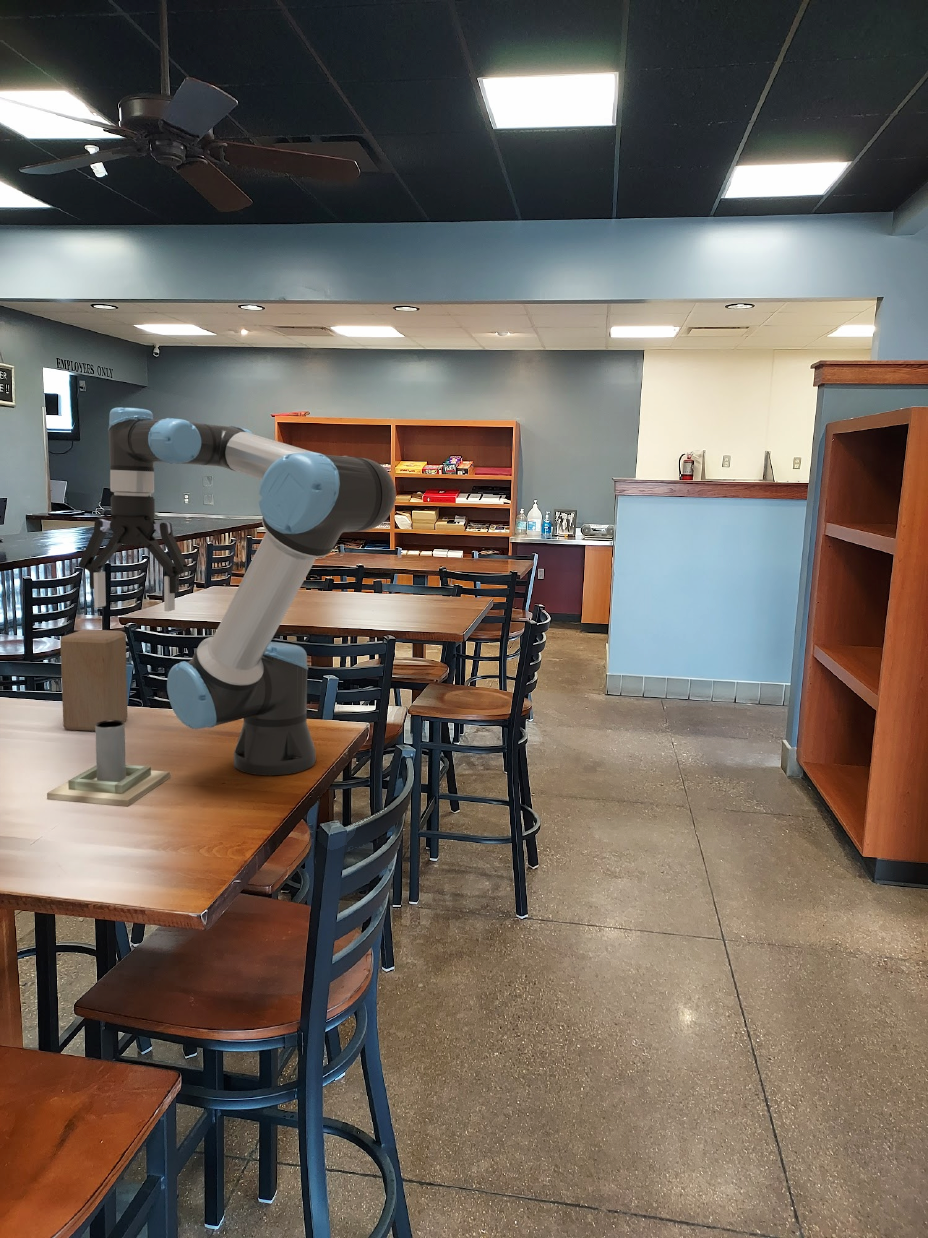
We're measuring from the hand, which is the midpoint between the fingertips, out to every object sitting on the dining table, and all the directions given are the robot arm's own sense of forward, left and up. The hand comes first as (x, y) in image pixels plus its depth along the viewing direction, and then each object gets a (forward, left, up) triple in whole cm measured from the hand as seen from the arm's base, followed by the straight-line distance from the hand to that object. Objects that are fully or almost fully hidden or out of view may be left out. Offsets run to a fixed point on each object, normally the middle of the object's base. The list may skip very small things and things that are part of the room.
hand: (134, 608), depth 153 cm
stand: (-5, +18, -28) cm, 34 cm away
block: (+18, -15, -28) cm, 36 cm away
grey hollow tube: (-6, +18, -27) cm, 33 cm away
